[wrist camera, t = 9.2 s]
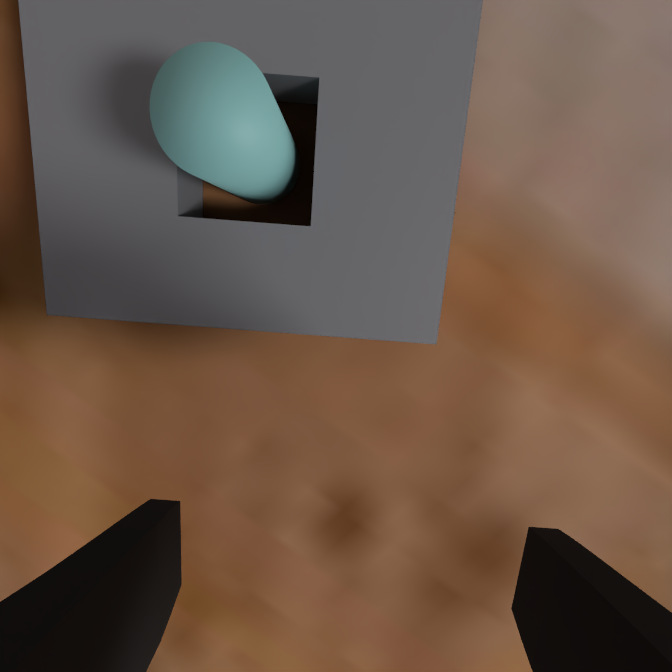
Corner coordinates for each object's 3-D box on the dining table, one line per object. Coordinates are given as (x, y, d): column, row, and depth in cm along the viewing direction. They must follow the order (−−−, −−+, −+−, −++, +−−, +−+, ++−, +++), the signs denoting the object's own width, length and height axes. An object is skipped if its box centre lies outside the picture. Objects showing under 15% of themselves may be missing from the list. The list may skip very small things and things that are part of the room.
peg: (223, 202, 16) (152, 176, 10) (222, 118, 15) (146, 37, 9) (298, 206, 16) (273, 183, 10) (301, 123, 15) (276, 45, 9)
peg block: (90, 304, 17) (47, 315, 14) (67, -33, 14) (9, -92, 12) (422, 329, 17) (436, 344, 14) (464, -2, 14) (490, -54, 12)
